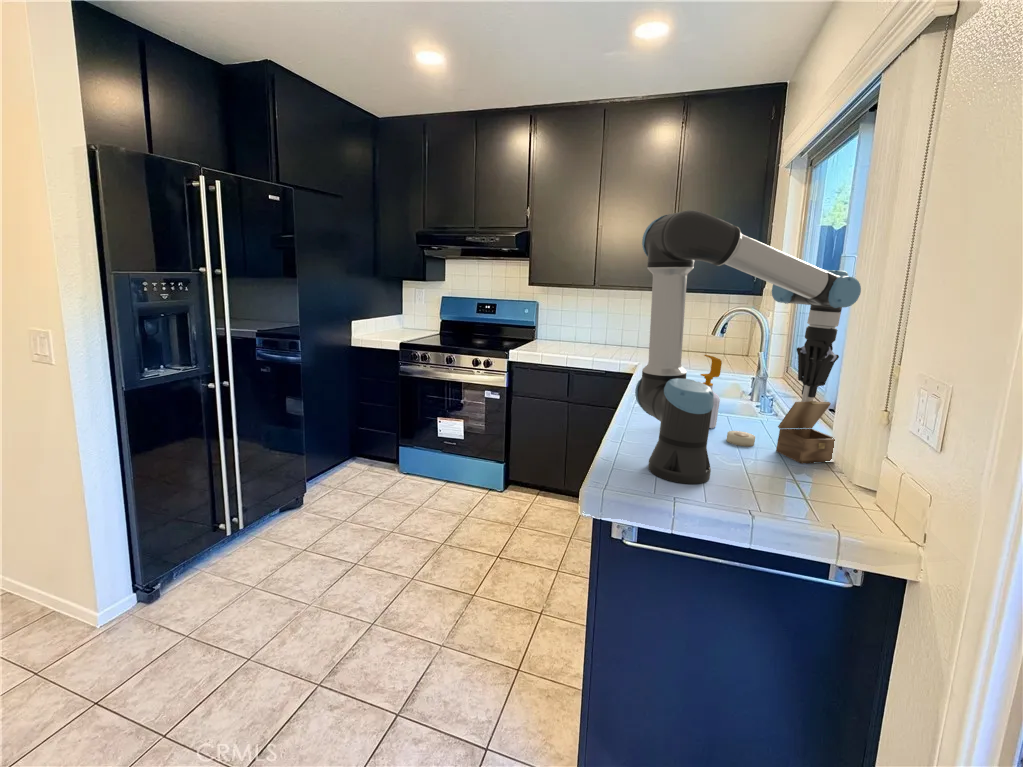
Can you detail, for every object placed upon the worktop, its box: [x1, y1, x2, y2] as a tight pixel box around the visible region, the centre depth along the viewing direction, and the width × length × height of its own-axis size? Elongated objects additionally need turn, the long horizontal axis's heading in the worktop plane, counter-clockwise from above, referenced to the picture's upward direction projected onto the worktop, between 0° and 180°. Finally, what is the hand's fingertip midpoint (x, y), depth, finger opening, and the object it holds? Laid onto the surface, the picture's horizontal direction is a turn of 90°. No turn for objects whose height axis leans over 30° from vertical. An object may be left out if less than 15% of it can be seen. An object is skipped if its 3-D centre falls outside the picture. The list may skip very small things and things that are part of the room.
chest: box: [775, 428, 835, 464], centre depth 145 cm, size 11×10×7 cm
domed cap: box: [726, 430, 756, 448], centre depth 156 cm, size 8×8×3 cm
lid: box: [777, 400, 831, 430], centre depth 146 cm, size 11×10×1 cm
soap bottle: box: [700, 354, 723, 429], centre depth 170 cm, size 9×9×25 cm
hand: (805, 407), depth 145 cm, fingers closed
